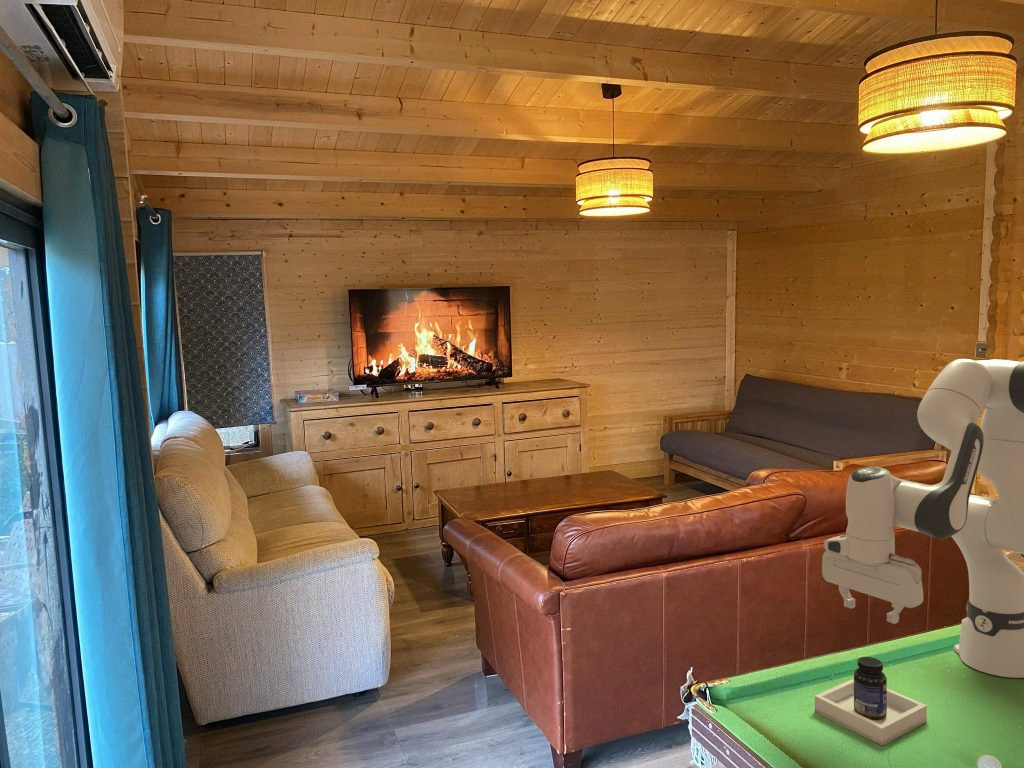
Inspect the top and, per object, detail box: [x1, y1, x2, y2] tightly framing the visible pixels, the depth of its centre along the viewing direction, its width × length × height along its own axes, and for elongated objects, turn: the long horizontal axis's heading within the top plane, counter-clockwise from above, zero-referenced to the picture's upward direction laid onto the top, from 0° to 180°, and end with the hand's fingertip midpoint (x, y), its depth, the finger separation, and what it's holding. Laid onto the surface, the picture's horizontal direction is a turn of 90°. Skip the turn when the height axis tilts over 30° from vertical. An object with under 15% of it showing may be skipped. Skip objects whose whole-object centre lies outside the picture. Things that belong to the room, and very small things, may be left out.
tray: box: [814, 678, 928, 746], centre depth 151 cm, size 15×15×4 cm
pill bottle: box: [853, 656, 888, 720], centre depth 151 cm, size 6×6×11 cm
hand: (870, 614), depth 150 cm, fingers open, 8 cm apart
